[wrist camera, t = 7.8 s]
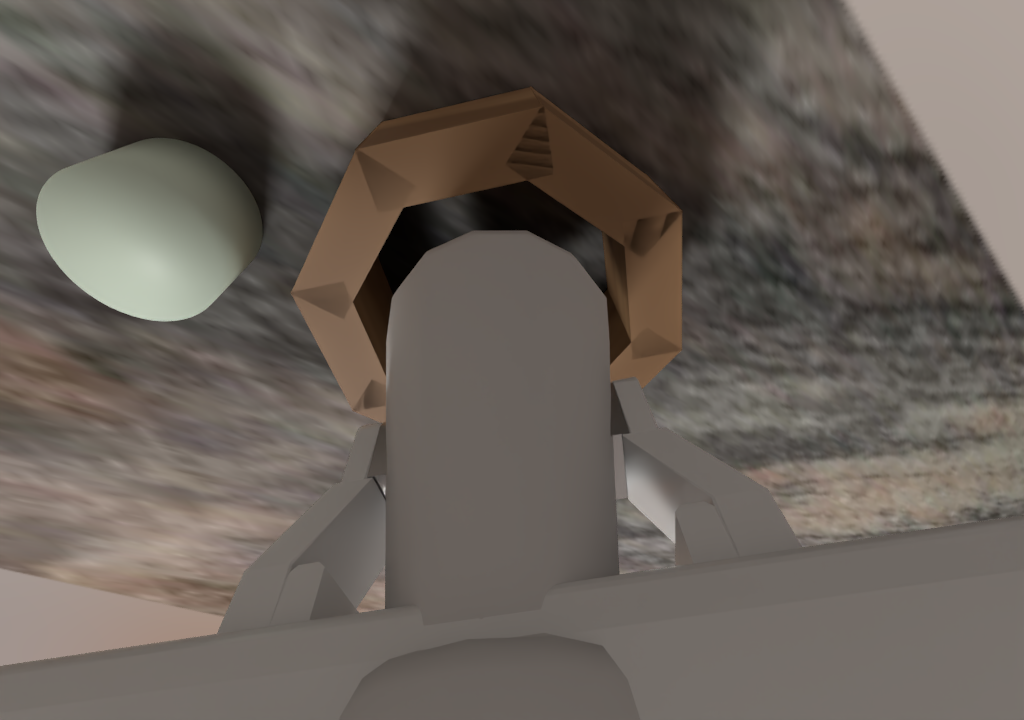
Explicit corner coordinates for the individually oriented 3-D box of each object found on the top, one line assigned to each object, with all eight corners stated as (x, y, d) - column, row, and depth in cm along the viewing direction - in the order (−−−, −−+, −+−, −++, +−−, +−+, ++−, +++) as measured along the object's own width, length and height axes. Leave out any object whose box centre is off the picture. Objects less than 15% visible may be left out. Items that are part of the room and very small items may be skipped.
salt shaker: (606, 202, 13) (1071, 957, 3) (582, 371, 17) (749, 1003, 6) (388, 199, 13) (-44, 1030, 2) (409, 371, 16) (266, 1035, 6)
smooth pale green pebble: (77, 155, 14) (-8, 184, 12) (216, 121, 14) (159, 144, 11) (167, 287, 17) (113, 333, 14) (287, 261, 16) (253, 304, 14)
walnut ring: (280, 144, 14) (229, 177, 11) (641, 59, 13) (683, 72, 11) (400, 409, 20) (385, 474, 17) (653, 362, 19) (681, 422, 17)
